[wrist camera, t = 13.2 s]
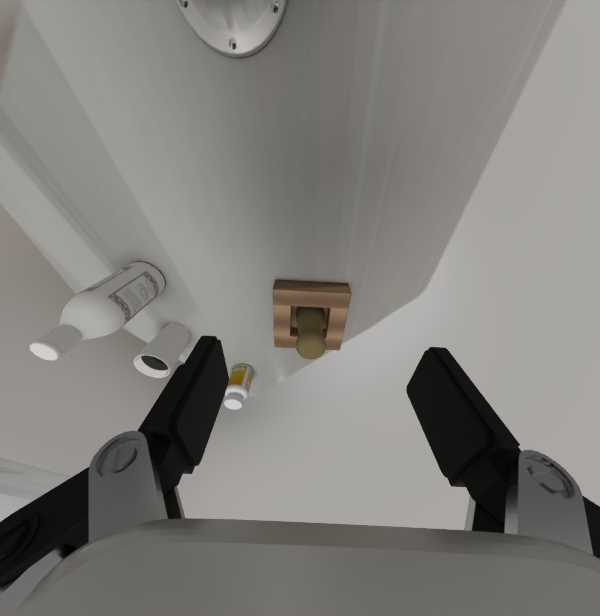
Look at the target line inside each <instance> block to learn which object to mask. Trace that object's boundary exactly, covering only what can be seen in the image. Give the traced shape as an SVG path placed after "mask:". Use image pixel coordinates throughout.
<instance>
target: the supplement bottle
mask: <svg viewBox="0 0 600 616" xmlns="http://www.w3.org/2000/svg"><path fill="white" fill-rule="evenodd" d="M252 377H253V369H252V368H251V367H250V366H248V365H245V364H238V365H236V366H235V367H234V368H233V370H232V373H231V376H230V379H229V383H228V386H227V389H226V392H225V395H226V399H225V402H224V404H225V406H226V407H228V408H230V409H239V408H241V406H242V404H243V400H245V399H246V398H247V396H248V392H249V388H250V384H251V381H252Z"/></svg>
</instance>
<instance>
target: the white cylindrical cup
mask: <svg viewBox="0 0 600 616" xmlns="http://www.w3.org/2000/svg"><path fill="white" fill-rule="evenodd" d="M190 336H191V334H190V332H189V330H188V329H187V328H186V327H184V326H183V325H181V324H177V323H170V324H168V325H167V326H166V327H165V328H164V329H163V330H162V331H161V332H160V333H159V334H158V335H157V336H156V337H155V338H154V339H153V340H152V341H151V342H150V343H149V344H148V345H147V346H146V347H145V348H144V349H143V350H142V351H141V352H140V353H139V354H138V355H137V356H136V358H135V359H134V365H135V367H136V368H137V369H138V370H139V371H140V372H142V373H143V374H145V375H148V376H150V377H155V378H163V377H165V376H167V375H168V374H169V373H170V371H171V370H172V368H173V366H174V365H175V363H176V361H177V360H178V358H179V356H180V354H181V353H182V351H183V349H184V348H185V346H186V344H187V343H188V341H189V339H190Z"/></svg>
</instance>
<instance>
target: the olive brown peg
mask: <svg viewBox="0 0 600 616" xmlns="http://www.w3.org/2000/svg"><path fill="white" fill-rule="evenodd" d="M324 316H325V311H324V308H322V307H302V306H298V308H297V309H296V320H297V326H298V333H299V336H298V338H297V340H296V350H297V352H298V353H299V354H300V355H301V356H302V357H303V358H306V359H316V358H319V357H320V356H321V355H323V353H324V352H325V350H326V341H325V338H324V336H323V326H324Z"/></svg>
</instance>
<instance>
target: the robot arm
mask: <svg viewBox="0 0 600 616" xmlns="http://www.w3.org/2000/svg"><path fill="white" fill-rule="evenodd" d="M175 1H176V3H177V5H178V7H179V9H180V11H181V13H182V15H183V16H184V18H185V19H186V21H187V22H188V24H189V26H190V27H191V28H192V29H193V31H194V32H195V33H196V34H197V35H198V36H199V37H200V38H201V39H202V40H203V41H204V42H205V43H206V44H207V45H208V46H209V47H211V48H212V49H213V50H215V51H216V52H218V53H220V54H223V55H225V56H228V57H235V58H241V57H247V56H250V55H252V54H254V53H256V52H258V51H259V50H261V49H262V48H263V47H264V46H265V45H267V43H268V42H269V41H270V39H271V38H272V37H273V35H274V34H275V32H276V30H277V28H278V26H279V24H280V22H281V20H282V17H283V14H284V11H285V8H286V4H287V0H175ZM186 3H188V6H187V8H186ZM275 8H277V9H278V12H277V13H274V9H275ZM234 44H235V45H236V46H237V47H236V49H235V50H234V49H233V45H234ZM228 383H229V376H228V372H227V367H226V363H225V358H224V354H223V349H222V345H221V341H220V340H217V337H216V336H201V338H200V339H199V341H198V342H197V344H196V346H195V347H194V349H193V351H192V352H191V354H190V355H189V357H188V359H187V360H186V362H185V364H182V365H180V366H179V367H178V368H177V369H176V371H175V373H174V374H173V376H172V377H171V379H170V380H169V382H168V384H167V385H166V387H165V388H164V390H163V391H162V393H161V394H160V396H159V398H158V399H157V401H156V402H155V404H154V406H153V407H152V409H151V410H150V412H149V414H148V415H147V417H146V418H145V420H144V421H143V423H142V425H141V426H140V428H139V429H138V431H128V432H124V433H122V434H119V435H117V436H115V437H114V438H112V439H111V440H109V441H108V442H107V443H106V444H104V445H103V446H102V447H101V448H100V449H99V451H98V452H97V453H96V454H95V456H94V458H93V460H92V461H91V464H90V467H88V468H86V469H85V470H83V471H82V472H80V473H79V474H77V475H75V476H73V477H72V478H70V479H68V480H67V481H65V482H63V483H62V484H60V485H59V486H57V487H55V488H54V489H52V490H50V491H49V492H47V493H45V494H44V495H42V496H41V497H39V498H37V499H36V500H34V501H32V502H31V503H29V504H27V505H26V506H24V507H23V508H21V509H19V510H18V511H16V512H14V513H13V514H11V515H10V516H8V517H7V518H5V519H4V520H3V521H1V522H0V616H600V507H599V506H598V505H596V504H595V503H593V502H591V501H590V500H588V499H587V498H585V497H584V496H582V493H581V491H580V488H579V486H578V485H577V483H576V482H575V480H574V479H573V478H572V476H570V474H569V473H568V472H567V471H566V470H565V469H564V468H563V467H561V466H560V465H559V464H558V463H557V462H555V461H554V460H552V459H551V458H549V457H548V456H546V455H544V454H541V453H539V452H536V451H533V450H524V451H522V452H521V450H520V449H519V448H518V446H519V445H520V444H519V443H518V442H517V440H516V439H515V438H514V436H513V435H512V434H511V433H510V431H509V430H508V428H507V427H506V426H505V425H504V423H503V422H502V420H501V419H500V418H499V417H498V415H497V414H496V413H495V412H494V410H493V409H492V407H491V406H490V405H489V403H488V402H487V401H486V400H485V398H484V397H483V395H482V394H481V393H480V392H479V390H478V389H477V388H476V386H475V385H474V384H473V383H472V381H471V380H470V378H469V377H468V376H467V374H466V373H465V372H464V371H463V369H462V368H461V367H460V365H459V364H458V363H457V361H456V360H455V359H454V357H453V356H452V355H451V353H450V352H449V351H448V350H447V349H446V348H439V347H430V348H429V349H428V350H426V351H425V352H424V354H423V356H422V358H421V360H420V362H419V364H418V366H417V368H416V370H415V372H414V374H413V376H412V378H411V380H410V381H409V384H408V385H407V394H408V397H409V399H410V401H411V404H412V406H413V408H414V410H415V413H416V415H417V417H418V420H419V422H420V424H421V426H422V429H423V431H424V433H425V436H426V438H427V440H428V442H429V445H430V447H431V449H432V452H433V454H434V456H435V458H436V461H437V463H438V465H439V468H440V470H441V472H442V473H443V475H444V476H445V477H447V478H448V480H449V483H450V485H451V486H456V487H466V488H467V490H468V492H469V494H470V499H469V505H468V511H467V517H466V523H465V529H464V530H446V529H427V528H407V527H389V526H368V525H347V524H325V523H304V522H280V521H256V520H233V519H186V518H185V516H184V512H183V508H182V504H181V500H180V497H179V493H178V489H177V485H178V484H179V481H180V479H181V476H182V474H183V473H185V474H192V472H193V470H194V467H195V466H197V465H199V463H200V462H201V459H202V457H203V454H204V451H205V448H206V445H207V443H208V440H209V437H210V434H211V431H212V429H213V426H214V423H215V420H216V417H217V414H218V412H219V409H220V406H221V403H222V400H223V397H224V395H225V392H226V389H227V386H228Z"/></svg>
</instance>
